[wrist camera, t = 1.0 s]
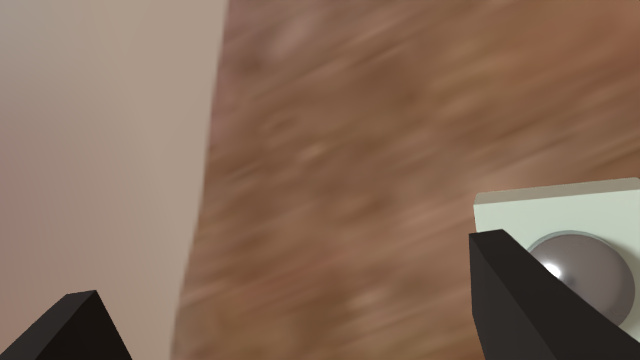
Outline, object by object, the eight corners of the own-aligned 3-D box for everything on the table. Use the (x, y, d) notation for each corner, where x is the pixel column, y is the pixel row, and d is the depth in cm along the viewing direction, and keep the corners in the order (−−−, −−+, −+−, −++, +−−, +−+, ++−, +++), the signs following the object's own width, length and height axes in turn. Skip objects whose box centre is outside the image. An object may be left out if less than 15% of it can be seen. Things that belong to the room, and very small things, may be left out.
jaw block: (650, 324, 22) (686, 375, 17) (493, 327, 24) (492, 373, 19) (634, 176, 21) (668, 191, 17) (477, 192, 23) (472, 209, 19)
